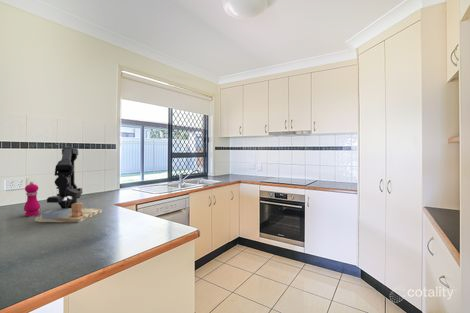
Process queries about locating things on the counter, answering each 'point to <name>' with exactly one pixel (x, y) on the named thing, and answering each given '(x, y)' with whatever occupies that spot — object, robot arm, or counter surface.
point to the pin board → (85, 214)
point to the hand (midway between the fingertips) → (65, 211)
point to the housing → (56, 213)
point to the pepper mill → (31, 200)
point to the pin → (76, 209)
